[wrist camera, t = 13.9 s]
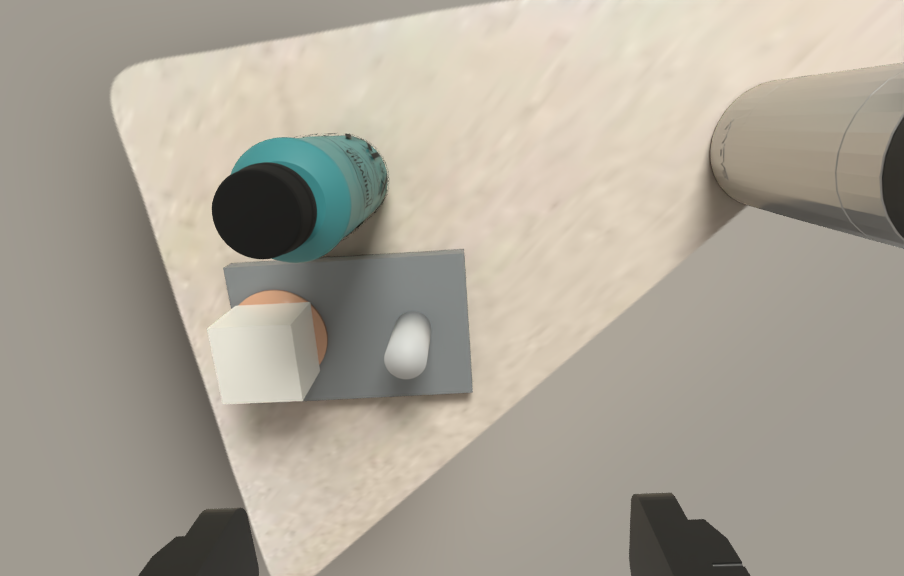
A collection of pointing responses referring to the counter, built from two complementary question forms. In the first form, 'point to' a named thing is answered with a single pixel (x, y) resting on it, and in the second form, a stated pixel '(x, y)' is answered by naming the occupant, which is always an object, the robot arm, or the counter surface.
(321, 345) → the tan flat disc
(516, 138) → the counter surface
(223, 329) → the off-white matte cube
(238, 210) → the beverage bottle
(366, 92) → the counter surface
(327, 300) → the post board
